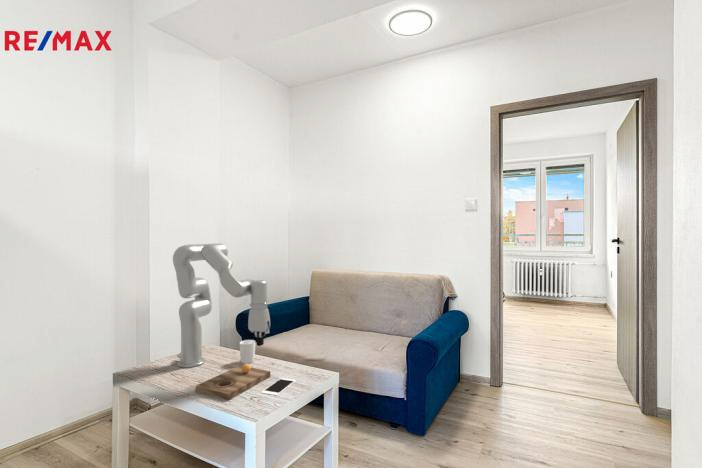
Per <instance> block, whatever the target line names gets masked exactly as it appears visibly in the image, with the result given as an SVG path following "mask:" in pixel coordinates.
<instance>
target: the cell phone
mask: <svg viewBox="0 0 702 468" xmlns="http://www.w3.org/2000/svg"><path fill="white" fill-rule="evenodd" d="M296 382H297V380H296V379H292V378H291V379H290V378H284V377H280V378H279V379H277V380H276V381H274V382H273V383H272V384H270V385H269V386H267V387H266V388H265V389H263V390H262V391H261V392H260V394H264V395H269V396H279V394H282V392H284V391H285V390H286V389H288V388H289V387H290V386H291V385H293V384H294V383H296ZM292 383H293V384H292Z"/></svg>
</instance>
